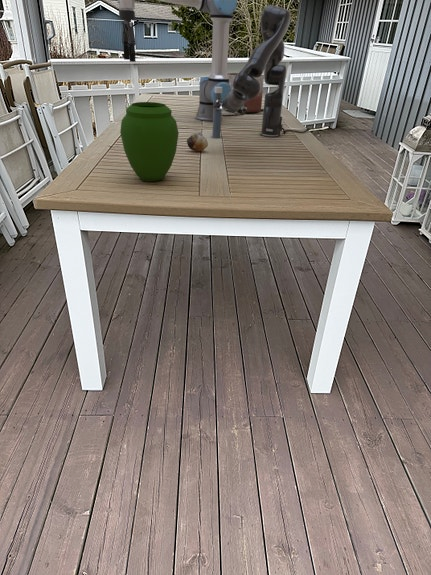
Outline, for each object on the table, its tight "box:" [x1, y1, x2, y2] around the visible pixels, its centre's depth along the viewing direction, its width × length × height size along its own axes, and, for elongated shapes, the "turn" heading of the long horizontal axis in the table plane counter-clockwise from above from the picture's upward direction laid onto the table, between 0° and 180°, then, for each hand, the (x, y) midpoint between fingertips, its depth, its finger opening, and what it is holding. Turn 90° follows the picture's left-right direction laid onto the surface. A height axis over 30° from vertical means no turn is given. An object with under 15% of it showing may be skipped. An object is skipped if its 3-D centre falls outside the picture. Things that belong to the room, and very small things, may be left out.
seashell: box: [186, 132, 209, 152], centre depth 180 cm, size 10×6×8 cm, turn 97°
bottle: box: [211, 93, 223, 139], centre depth 202 cm, size 4×4×23 cm
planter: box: [227, 72, 265, 114], centre depth 275 cm, size 25×25×22 cm
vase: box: [119, 101, 179, 182], centre depth 140 cm, size 20×20×24 cm
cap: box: [215, 87, 222, 93], centre depth 197 cm, size 4×4×2 cm
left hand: (129, 60), depth 206 cm, fingers open, 13 cm apart
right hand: (226, 111), depth 187 cm, fingers open, 8 cm apart
